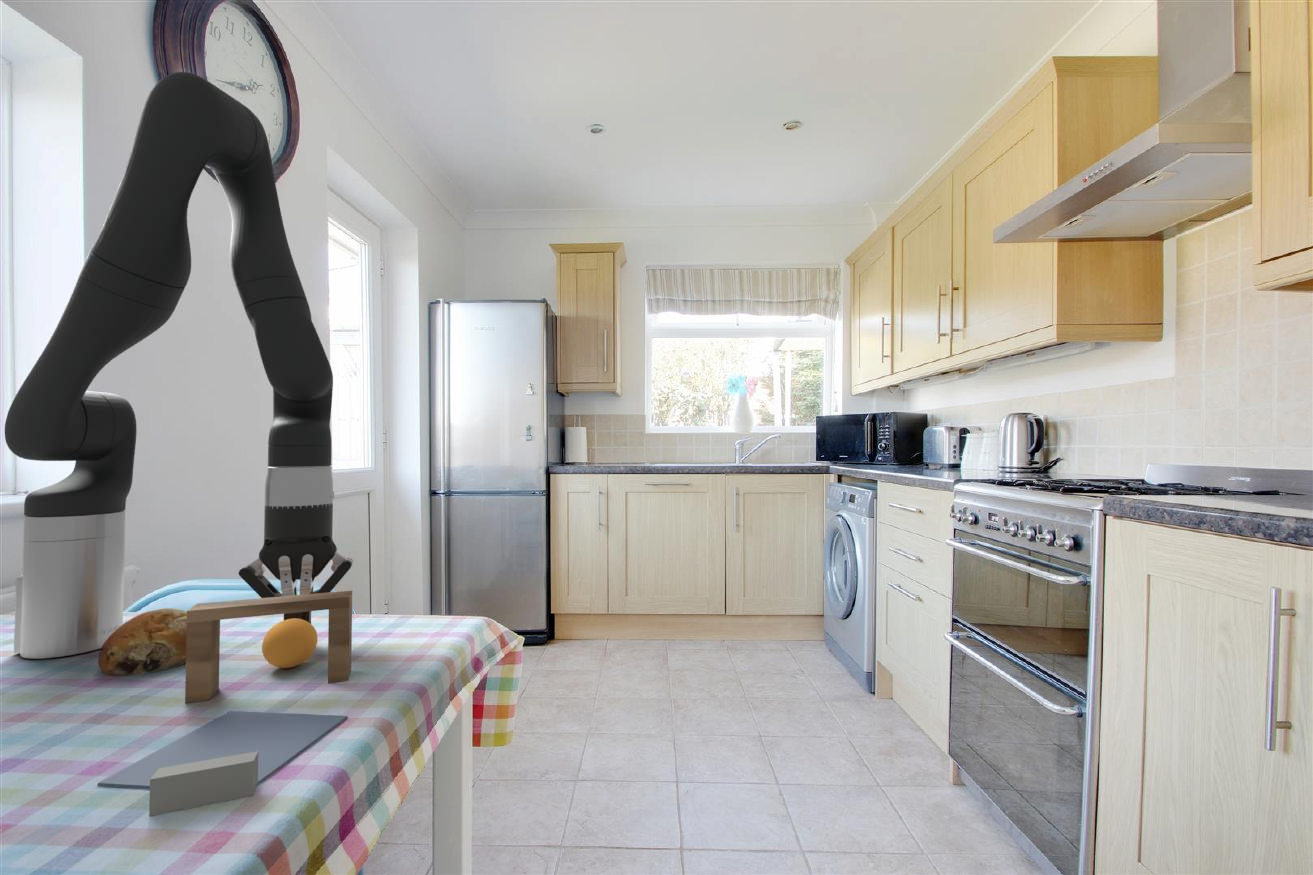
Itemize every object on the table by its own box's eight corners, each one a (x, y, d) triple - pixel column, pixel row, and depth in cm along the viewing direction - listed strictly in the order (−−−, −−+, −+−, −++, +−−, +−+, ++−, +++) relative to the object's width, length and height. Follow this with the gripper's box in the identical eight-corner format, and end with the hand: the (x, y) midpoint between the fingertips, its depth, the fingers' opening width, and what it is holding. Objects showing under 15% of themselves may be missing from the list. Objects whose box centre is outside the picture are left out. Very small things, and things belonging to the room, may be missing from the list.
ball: (252, 622, 66) (254, 668, 66) (273, 633, 63) (276, 681, 63) (302, 607, 71) (305, 650, 71) (325, 617, 67) (327, 662, 68)
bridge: (195, 691, 60) (197, 603, 60) (351, 670, 66) (352, 590, 66) (185, 703, 57) (186, 610, 57) (348, 680, 63) (349, 596, 63)
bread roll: (216, 682, 71) (240, 616, 75) (143, 676, 62) (174, 601, 66) (144, 679, 72) (171, 614, 76) (63, 672, 63) (97, 599, 67)
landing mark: (97, 785, 43) (97, 782, 43) (229, 712, 55) (229, 710, 55) (245, 793, 42) (245, 790, 42) (347, 717, 54) (347, 715, 54)
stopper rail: (158, 803, 41) (158, 768, 41) (257, 784, 43) (258, 750, 43) (149, 815, 39) (150, 779, 39) (252, 795, 42) (253, 760, 42)
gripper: (229, 505, 68) (226, 652, 67) (354, 501, 73) (352, 637, 73) (246, 500, 75) (243, 633, 74) (359, 497, 80) (357, 621, 79)
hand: (297, 635), depth 73 cm, fingers closed
